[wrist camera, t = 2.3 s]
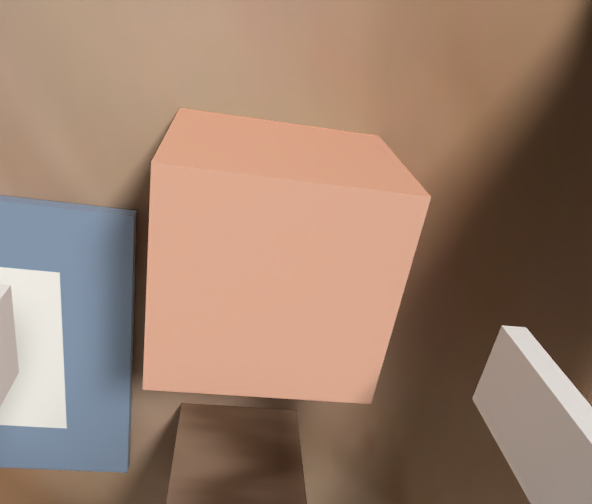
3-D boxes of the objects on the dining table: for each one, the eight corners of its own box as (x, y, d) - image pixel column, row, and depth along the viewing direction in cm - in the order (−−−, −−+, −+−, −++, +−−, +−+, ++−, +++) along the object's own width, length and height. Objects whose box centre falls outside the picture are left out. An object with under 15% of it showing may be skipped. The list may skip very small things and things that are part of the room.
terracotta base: (378, 135, 22) (431, 196, 15) (340, 299, 25) (371, 404, 19) (180, 107, 20) (151, 162, 14) (169, 284, 24) (142, 389, 18)
